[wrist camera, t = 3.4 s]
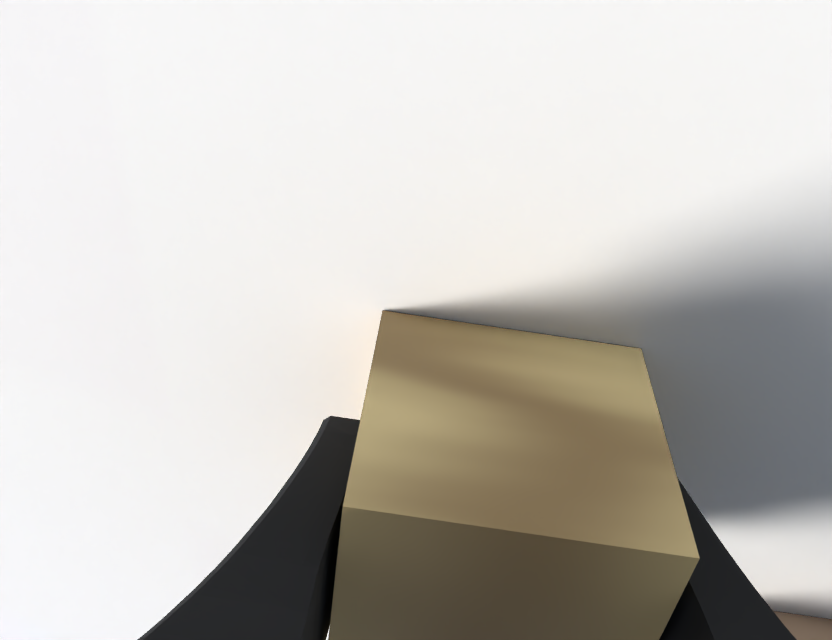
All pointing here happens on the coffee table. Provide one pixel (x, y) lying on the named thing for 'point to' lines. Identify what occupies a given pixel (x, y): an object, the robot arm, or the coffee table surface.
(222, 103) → the coffee table surface
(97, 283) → the coffee table surface
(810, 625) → the tower base
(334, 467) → the robot arm
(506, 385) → the ochre cube
